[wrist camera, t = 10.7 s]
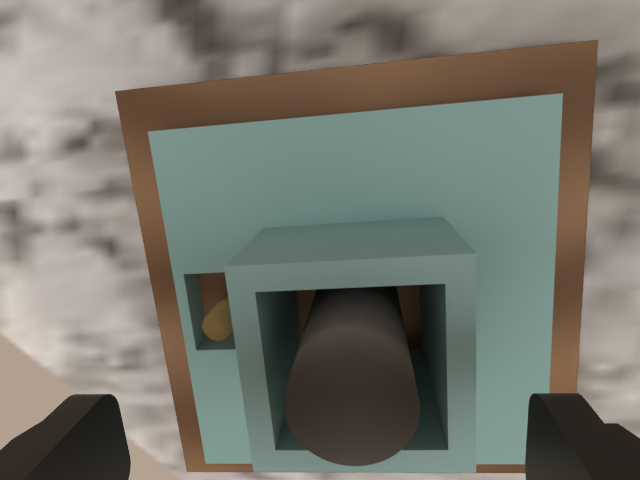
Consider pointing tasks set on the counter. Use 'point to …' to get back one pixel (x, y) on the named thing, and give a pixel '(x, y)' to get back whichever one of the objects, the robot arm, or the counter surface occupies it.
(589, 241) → the counter surface
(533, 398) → the robot arm
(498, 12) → the counter surface
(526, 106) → the flange plate
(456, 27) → the counter surface
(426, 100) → the post block
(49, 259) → the counter surface
